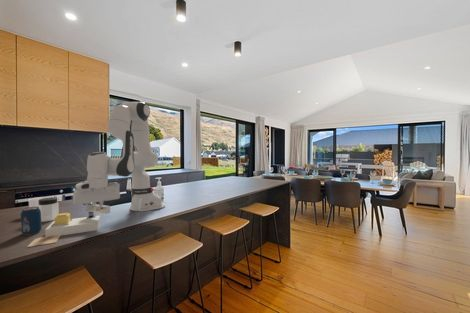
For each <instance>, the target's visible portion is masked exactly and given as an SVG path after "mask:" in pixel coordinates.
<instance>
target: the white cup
mask: <svg viewBox="0 0 470 313" xmlns="http://www.w3.org/2000/svg"><path fill="white" fill-rule="evenodd" d="M43 198H47V197H45V196H40V197H33V198H32V197H31V198H28V208H29V207H38V204H39V201H38V200H40V199H43Z"/></svg>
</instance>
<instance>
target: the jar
mask: <svg viewBox="0 0 470 313" xmlns="http://www.w3.org/2000/svg"><path fill="white" fill-rule="evenodd" d="M38 201H39V204H38V207H39V209H40V210H41V223H46V222H51V221H52V222H53V221H55V219H54V218H55V217H56V216H57V215H58V214H60V213H59V212H60V210H59V202H58V197H56V196H55V197H46V198H43V199H40V200H38Z"/></svg>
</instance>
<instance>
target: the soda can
mask: <svg viewBox="0 0 470 313" xmlns="http://www.w3.org/2000/svg"><path fill="white" fill-rule="evenodd" d="M20 226H21V227H20V228H21V229H20V230H21V231H20V232H21V234H22V235H24V236H30V235H35V234H38V233H39V232H40V231H41V230H42V222H41V210H40V209H39V207H29V206H28V207H24V208H23V209H22V210H21V212H20Z"/></svg>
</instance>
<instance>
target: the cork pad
mask: <svg viewBox="0 0 470 313" xmlns="http://www.w3.org/2000/svg"><path fill="white" fill-rule="evenodd" d="M60 237H61V235H56V236H50V237H46V236H41V237H36V238H34V239H33V240H32V241H31V242H30V243H29V244H28V245H27V248H33V247H40V246H45V245H46V246H47V245H51V244H56V243H57V242H58V241H59V239H60Z"/></svg>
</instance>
